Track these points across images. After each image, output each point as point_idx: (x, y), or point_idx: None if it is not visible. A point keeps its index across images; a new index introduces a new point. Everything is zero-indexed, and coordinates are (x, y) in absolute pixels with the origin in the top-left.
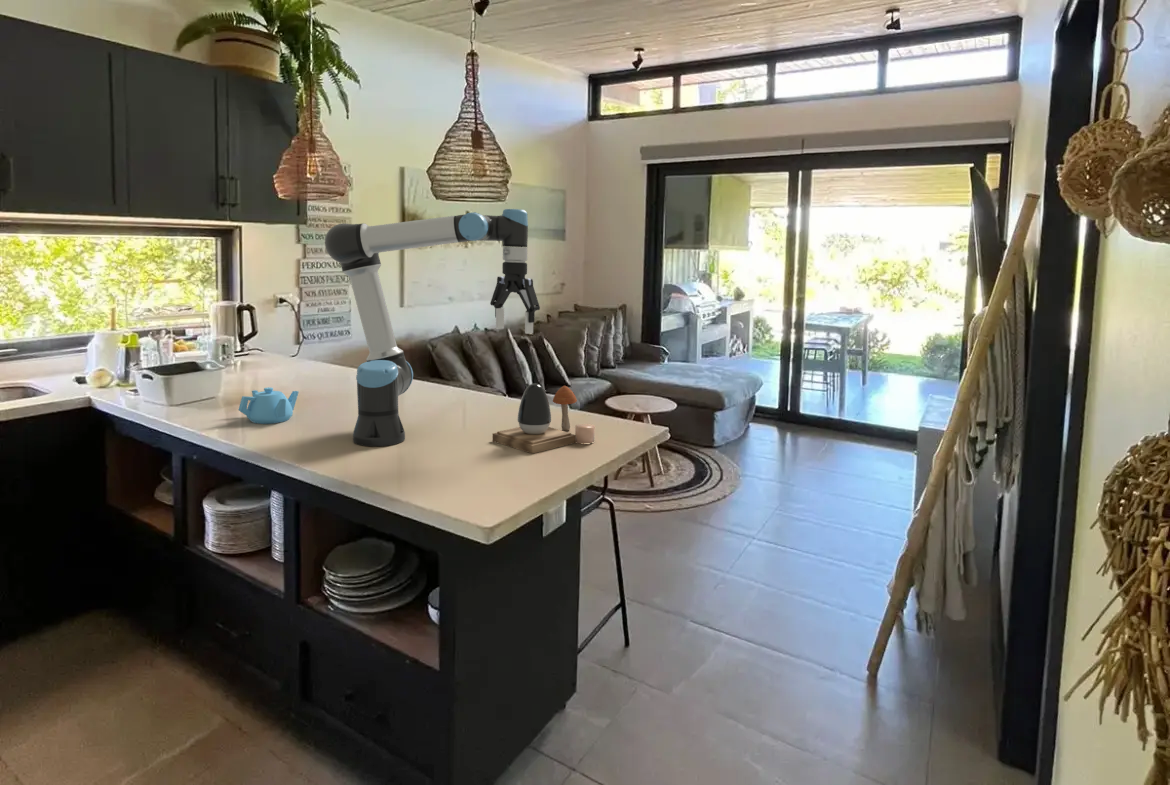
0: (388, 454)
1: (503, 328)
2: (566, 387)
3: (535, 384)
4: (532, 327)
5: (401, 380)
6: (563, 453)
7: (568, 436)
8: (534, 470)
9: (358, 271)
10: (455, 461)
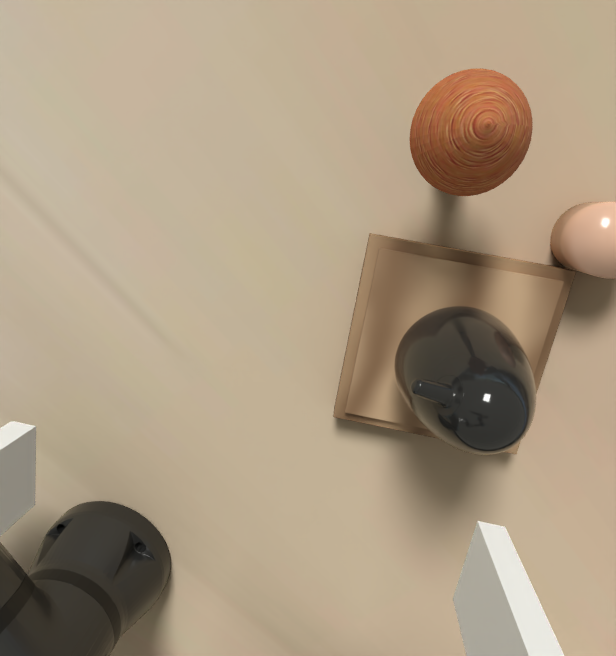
0: (223, 620)
1: (33, 433)
2: (501, 128)
3: (503, 436)
4: (524, 586)
5: (10, 636)
6: (586, 389)
7: (561, 302)
8: (592, 549)
9: None
10: (382, 587)
